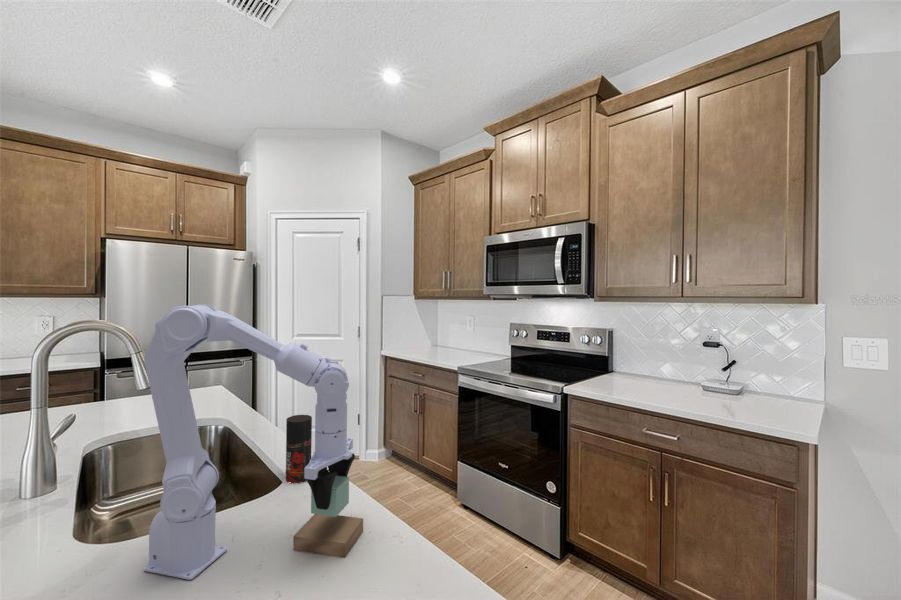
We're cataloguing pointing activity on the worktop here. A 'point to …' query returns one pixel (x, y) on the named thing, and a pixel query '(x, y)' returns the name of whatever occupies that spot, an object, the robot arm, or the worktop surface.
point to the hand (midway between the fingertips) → (330, 500)
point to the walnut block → (328, 535)
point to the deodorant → (298, 446)
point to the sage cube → (334, 498)
